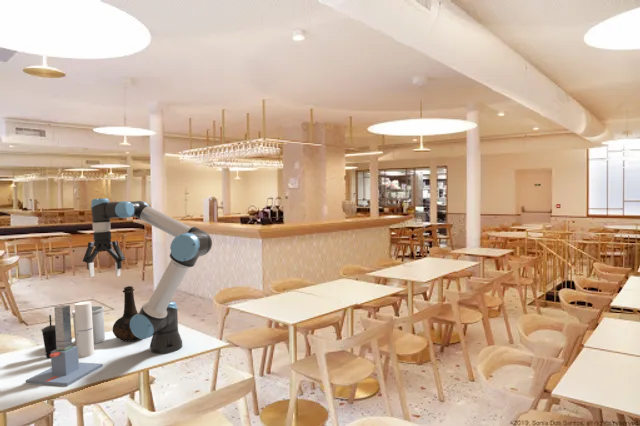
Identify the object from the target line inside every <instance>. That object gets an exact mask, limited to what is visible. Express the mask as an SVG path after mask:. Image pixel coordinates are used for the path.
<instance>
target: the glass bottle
mask: <svg viewBox="0 0 640 426" xmlns="http://www.w3.org/2000/svg"><path fill="white" fill-rule="evenodd" d="M134 291H135V289H134V287H133V286H131V285H130V286H129V285H128V286H125V287H123V290H122V293H123V294H124V303H123V304H124V305H123V307H124V308H123V313H122V316H121V317H119V318H118V319H117V320H116V321H115V322H114V324H113V326H112V332H113V335H114V336H115V338H116V339H118V340H120V341H122V342H133V341H138V340H141V339H140V338H137V337H136V336H135V335H134V334H133V333H132V331H131V328H130V320H131V318H132V317H133V316H135V315H136V314H138V313H139V311H138V310H137V307H136V302H135V296H134Z"/></svg>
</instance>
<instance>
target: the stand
mask: <svg viewBox="0 0 640 426" xmlns="http://www.w3.org/2000/svg"><path fill="white" fill-rule="evenodd" d="M72 346H73V345H72ZM50 357H51V358H50V361H51V362H50V363H51V367H50V368H48V369H46V370H44V371H42V372H40V373H38V374H36V375H34V376H31V377H29V378H27V379H25V384H31V385H33V384H34V385H46V386H47V385H48V386H63V387H65V386H66V387H68V386H70V385H72V384H74V383H76V382H77V380H78V381H79V380H81V379H83V378H85V377H86V376H88V375H90V374H92V373H93V372H96V371H97V370H99V369H101V368H103V366H104V365H103V363H96V362H95V363H94V362H79V361H80V360H79V357H78V346H77V345H74V346H73V348H71V349H69V350H67V351H56V350H53V351H51V354H50Z"/></svg>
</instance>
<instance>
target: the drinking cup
mask: <svg viewBox="0 0 640 426" xmlns="http://www.w3.org/2000/svg"><path fill="white" fill-rule="evenodd" d="M48 317H49V319H48V320H49V325H47V326H44V328H43V327H42V329H40V330H41V332H42V337H43V338H42V339H43V344H44V352H45V356H46V357H45V358H46V359H51V357H50V354H51V351H53V350H56V349H57V347H56V330H55V324H52V314H49V315H48Z"/></svg>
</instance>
